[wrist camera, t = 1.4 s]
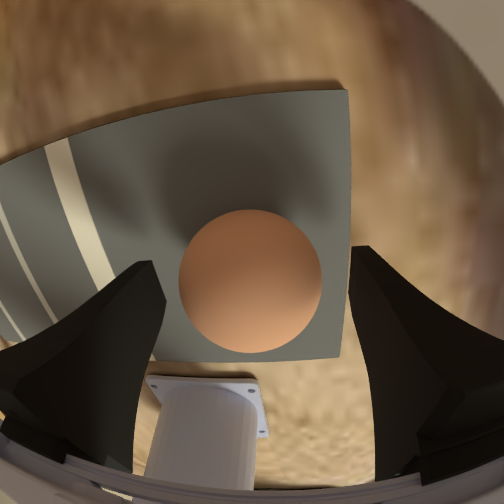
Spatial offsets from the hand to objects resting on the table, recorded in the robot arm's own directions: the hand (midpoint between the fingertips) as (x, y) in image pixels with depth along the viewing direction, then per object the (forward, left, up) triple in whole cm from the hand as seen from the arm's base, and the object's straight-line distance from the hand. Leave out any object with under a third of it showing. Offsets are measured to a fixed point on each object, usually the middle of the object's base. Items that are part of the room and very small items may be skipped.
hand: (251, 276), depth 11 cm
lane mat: (-1, +10, -3) cm, 10 cm away
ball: (0, 0, 0) cm, 0 cm away
